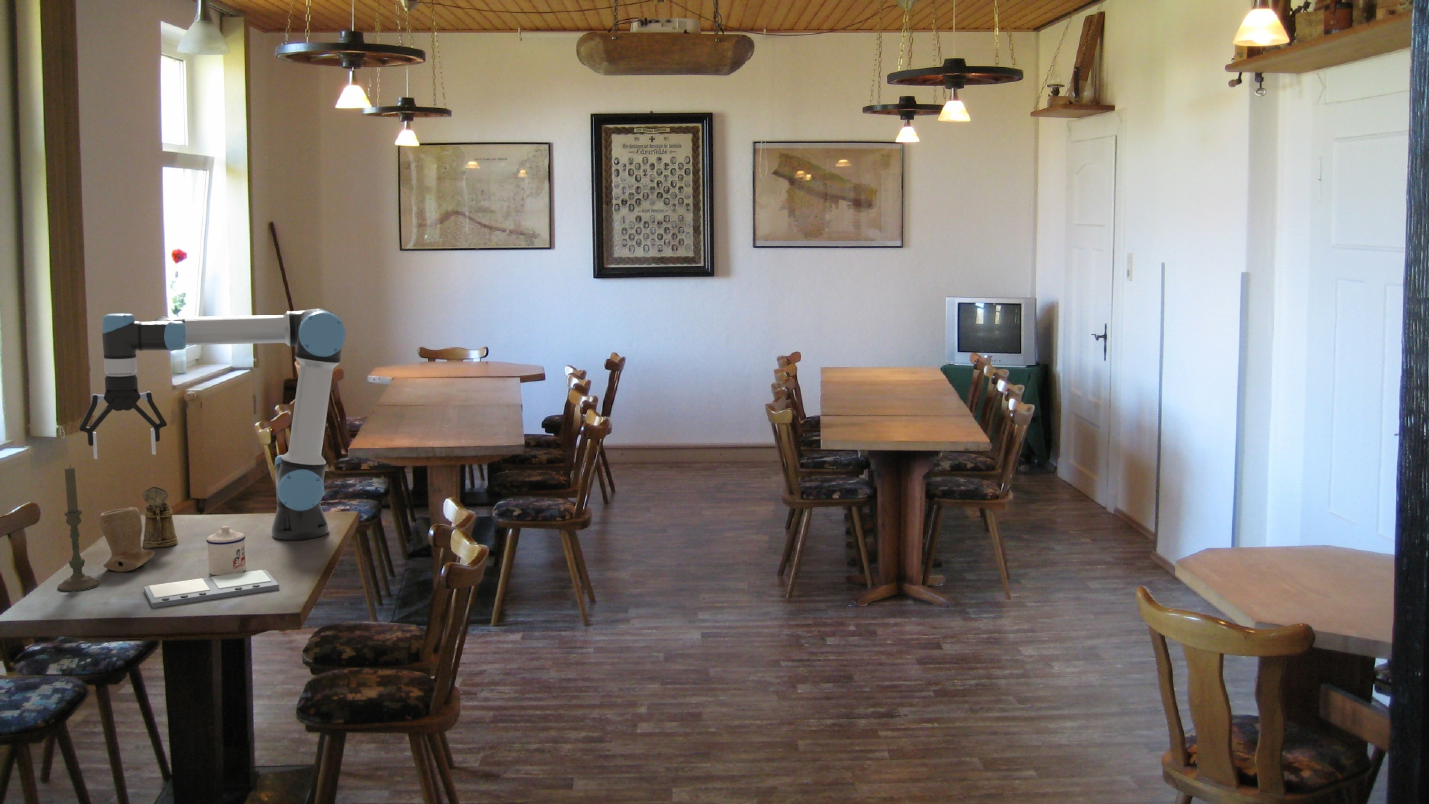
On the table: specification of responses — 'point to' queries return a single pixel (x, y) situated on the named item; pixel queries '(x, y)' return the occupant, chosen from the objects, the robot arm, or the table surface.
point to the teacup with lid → (226, 552)
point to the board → (210, 588)
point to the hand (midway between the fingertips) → (125, 456)
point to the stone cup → (124, 539)
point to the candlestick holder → (75, 539)
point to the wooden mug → (158, 520)
